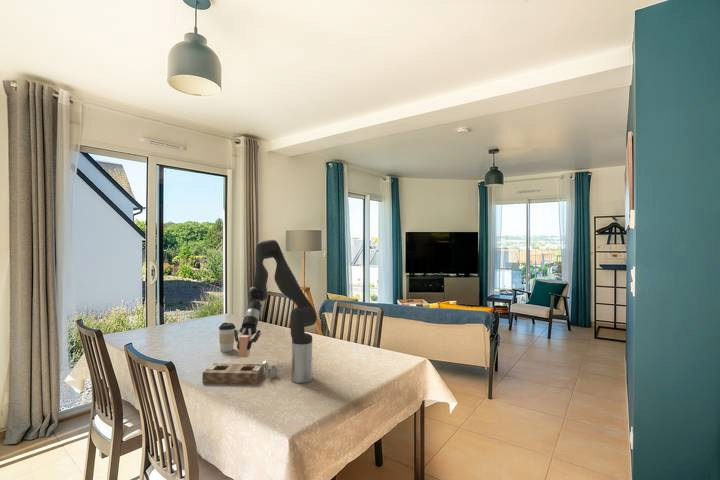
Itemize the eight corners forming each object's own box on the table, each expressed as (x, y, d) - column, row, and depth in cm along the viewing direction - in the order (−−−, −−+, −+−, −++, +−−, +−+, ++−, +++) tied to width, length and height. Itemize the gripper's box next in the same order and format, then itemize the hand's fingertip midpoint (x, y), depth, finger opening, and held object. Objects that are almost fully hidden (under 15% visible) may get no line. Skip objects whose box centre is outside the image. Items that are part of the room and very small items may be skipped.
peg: (249, 354, 185) (249, 335, 185) (247, 357, 181) (247, 337, 181) (241, 354, 185) (242, 334, 185) (239, 357, 181) (239, 337, 181)
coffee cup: (238, 349, 211) (238, 323, 211) (223, 353, 205) (223, 326, 205) (230, 346, 217) (230, 321, 217) (215, 349, 211) (215, 323, 211)
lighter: (275, 374, 174) (276, 358, 174) (277, 375, 172) (278, 358, 172) (262, 378, 169) (262, 361, 169) (263, 379, 168) (264, 362, 168)
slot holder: (263, 373, 175) (263, 363, 175) (256, 383, 163) (256, 372, 163) (213, 372, 175) (213, 362, 175) (202, 382, 163) (202, 371, 163)
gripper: (235, 315, 190) (226, 345, 178) (263, 315, 190) (256, 345, 178) (239, 323, 196) (230, 352, 183) (265, 323, 196) (259, 353, 183)
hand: (243, 349), depth 181 cm, fingers closed on peg, 4 cm apart
